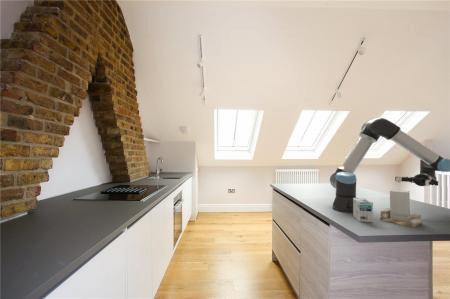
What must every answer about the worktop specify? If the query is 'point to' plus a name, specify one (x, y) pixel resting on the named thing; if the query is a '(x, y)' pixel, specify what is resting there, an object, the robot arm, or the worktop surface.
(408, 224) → the tan piece
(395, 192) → the skincare box
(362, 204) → the light bulb box
